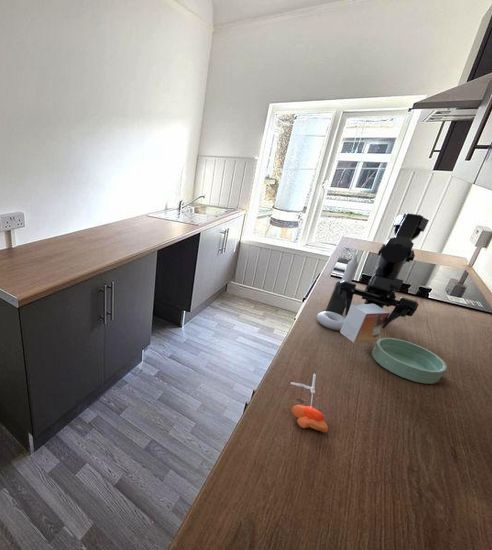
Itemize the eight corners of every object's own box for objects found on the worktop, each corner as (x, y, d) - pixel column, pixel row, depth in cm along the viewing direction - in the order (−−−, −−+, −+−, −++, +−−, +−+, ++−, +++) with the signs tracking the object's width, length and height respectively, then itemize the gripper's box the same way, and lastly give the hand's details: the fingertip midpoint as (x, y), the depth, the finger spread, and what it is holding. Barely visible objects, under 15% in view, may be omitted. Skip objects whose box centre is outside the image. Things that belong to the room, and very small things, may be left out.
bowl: (379, 343, 98) (385, 332, 96) (443, 370, 87) (450, 358, 85) (364, 360, 89) (370, 348, 88) (433, 393, 78) (441, 380, 77)
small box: (353, 343, 89) (366, 313, 85) (339, 332, 94) (350, 303, 90) (377, 342, 90) (390, 312, 86) (361, 331, 95) (374, 303, 91)
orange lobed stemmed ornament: (288, 400, 73) (302, 362, 69) (331, 427, 67) (349, 387, 62) (277, 412, 70) (291, 373, 65) (320, 442, 63) (339, 400, 58)
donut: (315, 315, 114) (316, 326, 106) (317, 307, 112) (319, 318, 104) (345, 322, 110) (349, 335, 101) (349, 314, 108) (353, 327, 100)
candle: (340, 320, 111) (366, 257, 101) (325, 315, 113) (348, 254, 103) (340, 314, 115) (364, 254, 105) (325, 310, 117) (347, 251, 107)
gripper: (350, 256, 91) (329, 299, 88) (433, 276, 79) (411, 325, 77) (347, 273, 99) (328, 312, 97) (421, 293, 88) (401, 338, 85)
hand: (363, 321), depth 89 cm, fingers closed on small box, 9 cm apart
